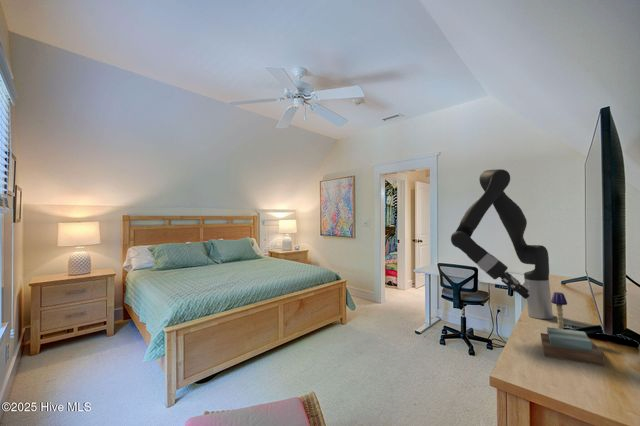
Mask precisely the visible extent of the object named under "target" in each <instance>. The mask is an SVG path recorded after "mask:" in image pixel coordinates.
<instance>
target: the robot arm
mask: <svg viewBox="0 0 640 426" xmlns="http://www.w3.org/2000/svg"><path fill="white" fill-rule="evenodd" d="M478 182H479V184H480V186H481V188H482V190H483V191H484V193H482V195H480V197H479V198H478V199H477V200H476V201H475V202H473V204H471V205H470V206H469V207H468V209H467V210H466V211H465V213H464V215H463V217H462V218H461V220H460V223H459V224H458V226H457V228H456V230H455V232H453V233H452V234H451V236H450V241H451V244H452V246H454V248H458V249H459V250H461V251H462V252H463V253H464V254H465V255H466V256H467V257H468V259H470V260H471V261H472V262H473V263H474V264H476V265H477V266H478V268H480V269H481V270H482V271H483V272H484V273H486V274H487V275H488V276H489V277H490V278H492V279H493V280H497V279H498V278H500V279H501V282H502V283H503V284H505V285H506V287H508V288H509V289H510V290H511V291H513V292H514V293H517V294H519V295H520V296H521V297H522V298H523V299H524V300H526V306H527V315H528V317H531V318H534V319H540V320H552V319H553V318H554V312H553V303H552V302H551V301H552V296H551V295H552V293H551V287H550V286H551V285H550V277H549V276H550V263H549V262H550V259H549V258H550V257H549V251H548V249H547V248H546V247H545V246H544V245H539V244H537V245H536V244H527V242H526V241H525V239H524V234H525V231H526V228H527V226H528V225H527V224H528V223H527V222H528V221H527V218H526V216H525V214H524V212H523V210H522V208H521V207H520V206H519V205H518V204H517V203H516V202H515V201H514V200H512V199H511V198H510V196H508V194H506V193H505V190H506V188H507V187H508V186H509V184H510V182H511V174H510V173H509V171H507V170H506V169H501V168H500V169H498V168H497V169H487V170H484V171H482V172H481V174H480V175H479V180H478ZM492 205H493V207H494V209H495V211H496V213H497V215H498V218H499V219H500V221H501V223H502V225H503V226H504V228H505V230H506V232H507V234H508V237H509V239H510V241H511V243H512V245H513V248H514V252H515V254H516V257H517V258H518V260H519V261H520V262H521V263H522V264H526V265H534V269H532V270H530V271H529V270H528V271H526V272H524V273H523V276H524V277H523V278H524V285H523V284H521V282H520V281H519V280H518V279H517V278H516V277H514V276H513V275H512V274H511V273H509V272H508V271H507V270H508V266H507V265H506V264H504V263H503V262H502V261H501V260H499V259H498V258H497V257H495V256H494V255H493V254H492V253H490V252H488V251H487V250H486V249H485V248H484V247H482V246H480V245H479V244H477V242H476V241H475V240H474V239H472V238H471V237H472V236H473V233H474V231H475V230H476V229H477V228H478V226H479V225H480V223H481V221H482V219H483V218H484V216H485V214H486V213H487V211H488V210H489V209H490V208H491V206H492Z"/></svg>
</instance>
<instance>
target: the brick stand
mask: <svg viewBox="0 0 640 426" xmlns="http://www.w3.org/2000/svg"><path fill="white" fill-rule="evenodd" d="M546 331H547V333H541V332H540V341H541V345H542V349H543V353H544V357H547V358H552V359H553V358H554V359H559V360H564V361H565V360H566V361H571V362H576V363H577V362H578V363H582V364H583V363H584V364H589V365H595V366H600V367H601V366H603V367H605V360H604V355H603V353H602V352H601V351H600V349H599V348H598V346H597V344H596V343H595V341H594V340H593V339H590V338H589V336H588V335H587V333H586V332H585V331H582V330H581V331H580V330H573V329H564V328H563V329H558V328H555V327H546Z"/></svg>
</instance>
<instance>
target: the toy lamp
mask: <svg viewBox="0 0 640 426" xmlns="http://www.w3.org/2000/svg"><path fill="white" fill-rule="evenodd" d="M551 302H552V305H553V304H554V305H555V306H556V311H557V312H556V315H557V316H556V318H557V321H556V322H557V327H558V328H557V329H564V328H565V326H564V313H563V306H566V305H568V301H567V298H566V296H565V294H564V293H563V292H557V291H555V292H553V294H552V296H551Z"/></svg>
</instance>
